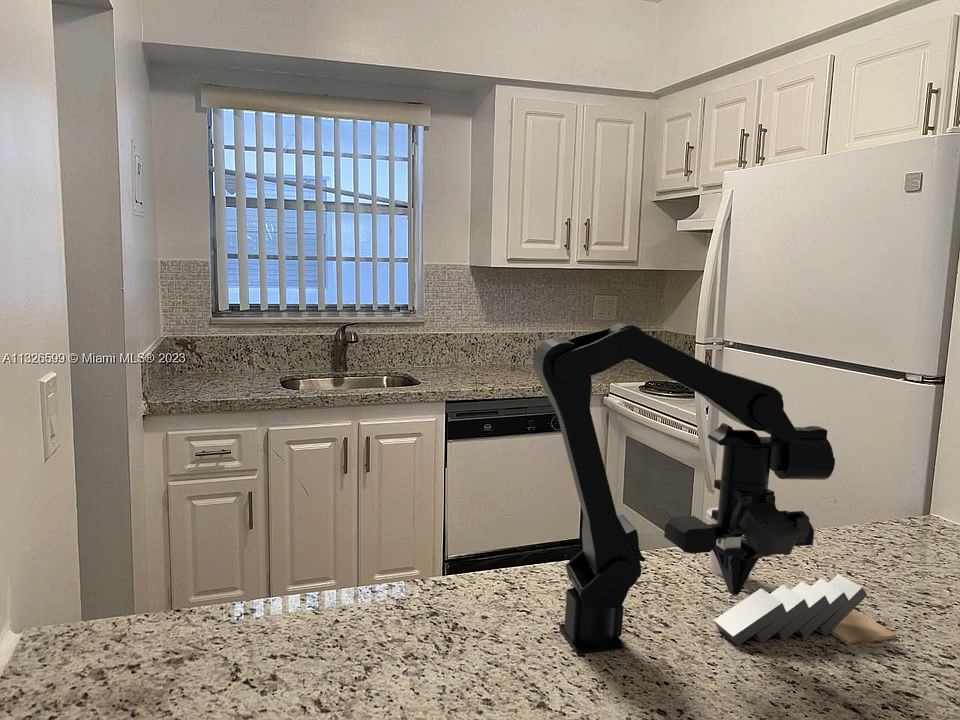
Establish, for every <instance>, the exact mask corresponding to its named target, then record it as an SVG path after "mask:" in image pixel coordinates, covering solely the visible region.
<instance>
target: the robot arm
mask: <svg viewBox="0 0 960 720" xmlns="http://www.w3.org/2000/svg"><path fill="white" fill-rule="evenodd" d="M626 360H631V361H633V362H635V363H637V364H640V365H641V366H643V367H644V368H645V367H646V368H647V369H649V370H652V371H653V372H655V373H658V374H659V375H661V376H664V377H666V378H667V379H669V380H671V381H673V382H676V383H678V384H680V385H682V386H684V387H686V388H687V389H689V390H691V391H693V392H696V393H697V394H698V395H700V396H701V397H703V399H705V400H706V402H708V403H709V404H711V406H712V407H714V408H715V409H717V410H718V411H719V412H721V413H722V414H723V415H725V416H726V417H727V418H729V419H731V420H732V421H734V422H736V423H739V424H741V425H743V426H745V427H747V428H749V429H734V428H733V427H732V426H730V425H729V424H727V423H724V422H722V423H721V424H720V426H719V427H718V428H715V429H714V430H712V431H711V432H710V433H709V434H708V435H707V439H709V440H710V441H712V442H714V443H715V444H717V445H719V446H723V454H722V462H721V463H722V464H721V474H720V475H721V476H720V479H714V484H713V485H714V486H713V487H714V488H715V489H716V490H719V495H718V496H719V497H718V506H717V507H718V510H712V516H711V517H712V518H713V519H715V520H717V524H708V523H706V522H705V521H703V520H701V519H700V518H698V517H696V516H695V515H689V516H688V515H687V516H685V515H684V516H671V517H670V518H669V519H668V520H667V521H666V522H665V525H664V534H663V535H664V538H665V539H667V540H668V541H669V542H671V543H672V544H673V545H675V546H676V547H678V548H679V549H680V550H682V551H683V552H684V553H687V554H704V553H705V554H706V553H710V552H711V551H712V550H713V552H714V554H715V556H716V558H717V560H718V563H719V566H720V568H721V571H722V574H723V576H722V577H723V580H724V582H725V585H726V589H727V591H728V594H730V595H732V596H738V595H740V593H741V591H742V590H743V587H744V586H745V583H746V581H747V580H748V577H749V576H750V574H751V572H752V570H753V568H754V567H755V565H756V564H757V562H758V561H759V560H760V559H762V558H763V557H771V556H773V555H774V556H776V555H784V556H789V555H791V554H792V551H793V549H794V546H795V547H804V546H813V545H814V539H815V529H814V527H813V525H812V523H811V522H810V517H809V516H808V515H807V514H806V512H804V511H803V510H796V511H795V510H793V511H789V510H778V508H777V506H776V495H775V491H774V490H771V489H769V481H770V471H772V472H773V473H774V474H775V477H777V478H778V479H780V480H807V481H808V480H810V481H811V480H814V481H815V480H817V481H819V480H820V481H824V480H827V479H829V478H830V477H832V474H833V472H834V469H835V466H836V458H835V456H834V452H833V451H834V450H833V447H832V445H831V442H830V441H829V439H828V430H827V428H823V427H821V426H819V425H808V426H805V427H804V426H803V427H802V426H801V427H800V426H799V427H798V426H797V427H795V426H794V424H793V422H791V419H790V418H789V417H788V415H787V413H786V411H785V410H784V405H785V404H784V400H783V394H782V393H781V392H780V391H779V390H778V389H776V388H775V387H773V386H771V385H768V384H765V383H763V382H759V381H756V380H753V379H752V378H751V379H750V378H747V377H744V376H741V375H736V374H734V373H730V372H727V371H723V370H719V369H717V368H715V367H713V366H711V365H709V364H707V363H705V362H703V361H701V360H699V359H697V358H696V357H693V356H691V355H689V354H687V353H685V352H684V351H681V350H679V349H677V348H676V347H674V346H672V345H671V344H670V345H669V344H668V343H665V342H664V341H661V340H660V339H657V338H655V337H654V336H652V335H650V334H647V333H646V332H645V331H643V330H642V329H641V328H640V327H638V326H636V325H632V324H628V323H625V322H620V323H619V322H618V323H616V324H614V325H612V326H610V327H607V328H604V329H601V330H597V331H592V332H588V333H584V334H581V335H580V334H579V335H577V336H574V337H571V338H567V339H565V338H561V337H552V338H551V337H549V338H548V339H546V340H543V341H542V342H541V343H540V344H539V345H538V346H537V347H536V349H535V351H534V352H533V355H532V366H533V368H534V371H535V373H536V375H537V377H538V380H539V382H540V385H541V386H542V388H543V391H544V393H545V394H546V396H547V398H548V400H549V401H550V404H551V406H552V408H553V409H554V411H555V413H556V415H557V420H558V423H559V428H560V431H561V435H562V439H563V443H564V447H565V450H566V451H565V452H566V455H567V457H568V462H569V465H570V469H571V473H572V476H573V481H574V485H575V489H576V492H577V497H578V499H579V504H580V509H581V511H582V527H581V540H582V542H581V543H582V549H581V551H579V552H577V554H576V555H575V556H573V557H572V558H571V559H570V560H569V561H568V562H567V563H565V571H566V573H567V576H568V579H569V580H570V582H571V584H572V585H573V587H572V588H567V589H566V598H565V599H566V600H565V612H564V613H565V614H564V623H561V624H559V625H558V626H559V627H558V628H559V631H560V632H561V633H562V636H564V638H565V639H566V640H567V641H568V643H569V644H570V645H571V647H572V648H573V649H574V651H575V652H576V653H581V654H582V653H583V654H584V653H591V652H600V651H611V650H618V649H623V648H624V647H625V642H623V640H622V638H620V637H622V636H623V625H624V623H623V622H624V609H625V606H624V605H623V604H624V602H625V600H626V597H627V595H628V593H629V591H630V589H631V588H632V587H633V586H634V585H635V584H637V581H638V580H639V579H640V578H641V576H642V564H641V562H643V563H644V562H646V559H645V557H644V556H643V554H642V553H641V550H640V546H639V545H640V544H639V543H640V542H639V541H640V539H639V535H638V531H637V529H636V528H635V527H634V526H633V524H632V523H631V522H630V521H629V520H628V519H627V518H626V517H625V515H624V514H620V515H617V511H616V507H615V506H616V505H615V504H614V499H613V495H612V491H611V488H610V484H609V479H608V476H607V472H606V468H605V464H604V458H603V456H602V452H601V447H600V445H599V439H598V436H597V433H596V428H595V424H594V421H593V417H592V411H591V405H592V404H591V402H592V393H593V391H592V390H593V385H592V384H593V383H592V382H593V381H592V376H594V375H596V374H600V373H602V372H604V371H607V370H608V369H611V368H612V367H615V366H616V365H618V364H620V363H622V362H623V361H626ZM751 429H752V430H751ZM755 431H758V432H764V433H766V434H768V435H769V436H759V435H758V433H757V432H755Z"/></svg>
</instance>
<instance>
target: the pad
mask: <svg viewBox="0 0 960 720" xmlns="http://www.w3.org/2000/svg"><path fill="white" fill-rule="evenodd" d="M829 634H831V635H832V634H833V636H834V637H835V638H837V639H838V638H839V639H838V640H840V641H841V642H843V643H844V644H846V645H851V644H858V643H859V644H860V643H868V642H869V643H870V642H877V641H886V640H895V639H897V634H896V633H894V632H893V631H891V630H889V629H887V628H886V627H884V626H883V625H881V624H880V623H878V622H876V621H875V620H873V619H871V618H869V617H868V616H866V615H865V614H863V613H861V612H860V611H858V610H857V609H856V608H854V609H853V610H852V611H851V612H850V613H849V614H848V615H847V616H846V617H845V618H844V619H843V620H842V621H841V622H840V623H839V624H838V625H837V626H836V627H835V628H834V629H833V630H832V631H831V632H830V633H829Z"/></svg>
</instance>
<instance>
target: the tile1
mask: <svg viewBox="0 0 960 720" xmlns="http://www.w3.org/2000/svg"><path fill="white" fill-rule="evenodd" d="M770 594H771V593H769V592H767V590H764V589H763V588H758V590H756V591H755V592H753V593H751V594H750V595H749V596H748V597H746V598H744V599H743V600H741V601H740V602H739V603H737V604H735V605H734V606H733V607H731V608H729V609H728V610H727V611H725V612H723V614H721V615H719V616H718V617H716V618H715V619H714V620H713V622H714V624H715V626H716V628H717V630H718V631H719V632H720V633H721V634H723V636H725V637H726V638H727V639H728V640H730V641H731V642H732V643H733V644H734V645H735V646H737V647H738V646H740V645H742V644H743V643H744V642H746V641H747V640H749V639H750V638H751V637H753V635H754V634H756V633H757V632H759V631H760V630H762V629H763V628H765V627H766V626H768V625H769V624H770V623H772V622H773V621H775V620H776V619H778V618H779V617H781V616H782V615H783V614H785V613H786V610H785V608H784V605H783V603H782V602H781V601H779V600H778V599H776V598H775V597H773V596H772V595H770Z"/></svg>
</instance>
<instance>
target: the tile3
mask: <svg viewBox="0 0 960 720" xmlns="http://www.w3.org/2000/svg"><path fill="white" fill-rule="evenodd" d="M811 586H812V585H809V584H808V583H806V582H805V581H803V580H802V581H801V582H800V583H798V584H797V585H796V586H794V587H793V588H792V589H791V590H792V591H793V592H795V593H796V594H798V595H800V596H801V597H803V598H804V599H805V601H806V603H807V605H808V607H809V609H807V610H806V611H805V612H803V613H802V614H801V615H799V616H798V617H797V618H795V619H794V620H793V621H791V622H790V623H789V624H787V625H786V626H785V627H783V628H782V629H781V630H779V631H778V632H777V633H775V634H774V635H775V636H776V637H778V638H780V640H782V642H784V641H786V640H788V638H790V637H791V636H792V635H793V634H795V633H796V631H797V630H798V629H800V628H801V627H802V626H803V625H805V624H806V623H807V622H808V621H809V620H811V619H812V618H813V617H814V616H816V615H817V614H818V613H819V612H821V611H822V610H823V609H824V608H826V607H827V606H828V605H829V602H828V600H827V598H826V596H825V595H824V594H822V593H821V592H819V591H817V590H816V589H814V588H813V587H811Z"/></svg>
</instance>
